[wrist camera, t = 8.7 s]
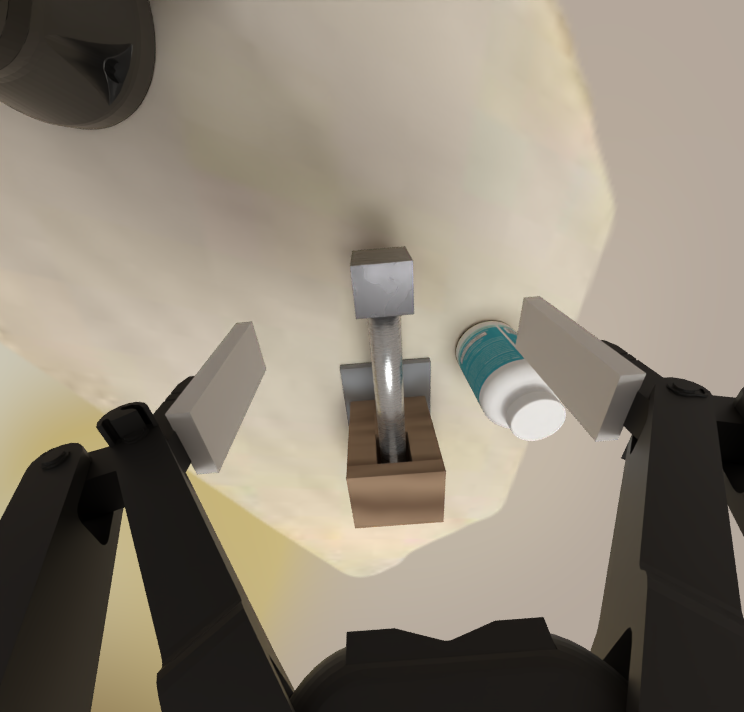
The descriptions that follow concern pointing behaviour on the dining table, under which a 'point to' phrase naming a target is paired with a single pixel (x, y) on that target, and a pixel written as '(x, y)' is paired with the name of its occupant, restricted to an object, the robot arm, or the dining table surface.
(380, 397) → the shaft
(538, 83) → the dining table surface
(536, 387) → the pill bottle
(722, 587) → the robot arm
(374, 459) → the bearing block
